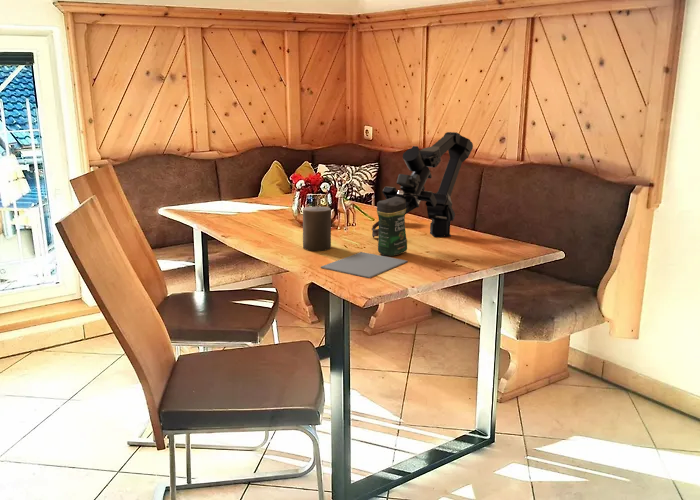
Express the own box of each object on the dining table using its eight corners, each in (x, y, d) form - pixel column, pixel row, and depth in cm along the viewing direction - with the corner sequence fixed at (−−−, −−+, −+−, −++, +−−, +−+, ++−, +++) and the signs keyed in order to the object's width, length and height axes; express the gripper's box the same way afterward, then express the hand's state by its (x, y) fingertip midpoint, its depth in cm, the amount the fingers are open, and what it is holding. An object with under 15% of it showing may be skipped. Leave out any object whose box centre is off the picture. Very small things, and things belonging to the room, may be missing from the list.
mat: (361, 253, 216) (361, 251, 216) (407, 261, 206) (407, 260, 206) (320, 267, 199) (320, 266, 199) (369, 278, 189) (369, 276, 189)
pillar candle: (324, 252, 217) (324, 208, 213) (298, 249, 220) (297, 206, 217) (335, 246, 226) (335, 203, 222) (309, 243, 229) (309, 201, 225)
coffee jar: (391, 258, 210) (389, 203, 204) (374, 253, 216) (371, 199, 210) (411, 251, 216) (410, 197, 210) (394, 246, 222) (392, 193, 216)
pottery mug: (401, 243, 232) (391, 224, 229) (378, 252, 235) (368, 235, 232) (401, 227, 243) (391, 209, 239) (378, 237, 245) (369, 219, 242)
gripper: (385, 162, 221) (367, 198, 215) (434, 167, 210) (415, 205, 204) (397, 183, 229) (379, 218, 223) (444, 188, 218) (427, 225, 212)
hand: (399, 216), depth 215 cm, fingers closed
